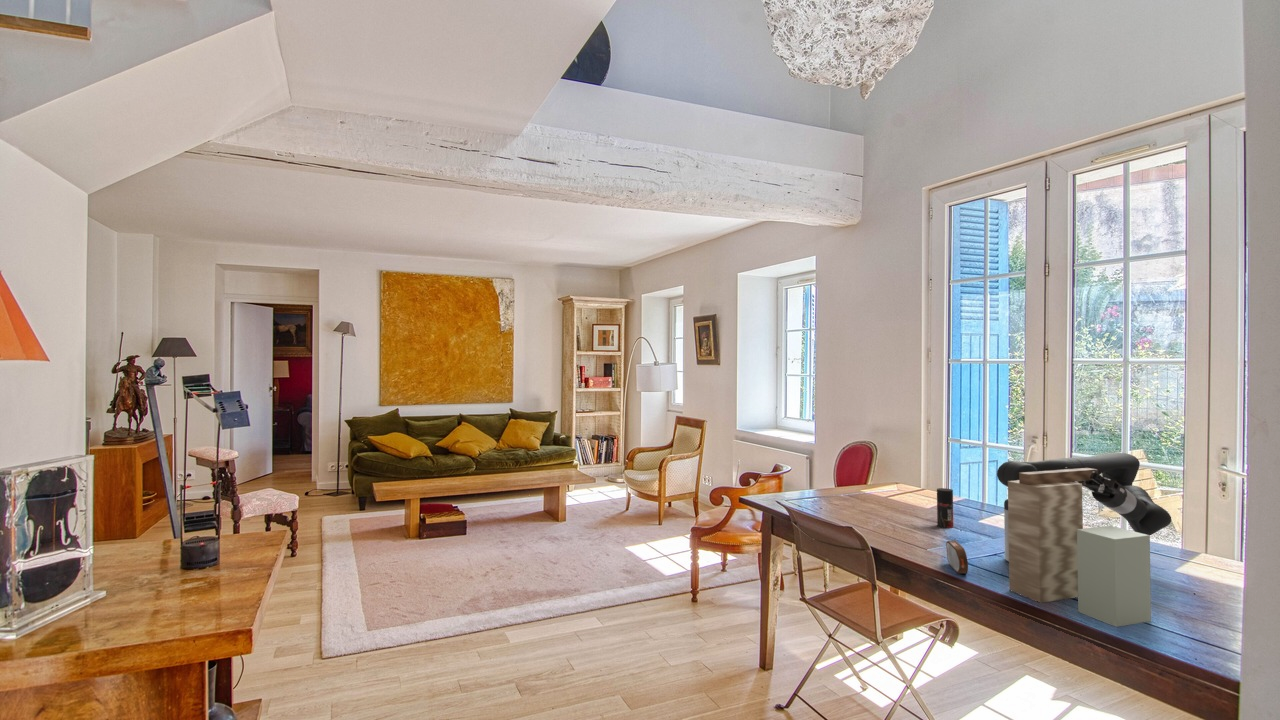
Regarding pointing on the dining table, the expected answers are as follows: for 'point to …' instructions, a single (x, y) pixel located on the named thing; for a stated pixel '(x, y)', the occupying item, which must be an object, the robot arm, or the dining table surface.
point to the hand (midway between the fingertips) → (1078, 472)
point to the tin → (957, 557)
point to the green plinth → (1114, 575)
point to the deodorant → (945, 508)
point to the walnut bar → (1056, 476)
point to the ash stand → (1044, 539)
